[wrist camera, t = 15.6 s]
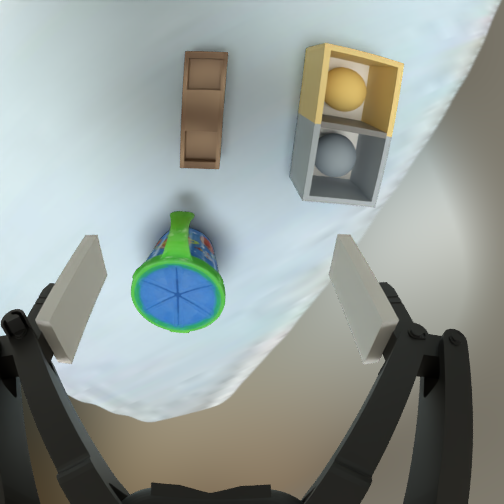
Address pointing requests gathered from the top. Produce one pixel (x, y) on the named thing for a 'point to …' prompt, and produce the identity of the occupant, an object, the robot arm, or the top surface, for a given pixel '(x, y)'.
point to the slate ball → (335, 155)
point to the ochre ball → (344, 89)
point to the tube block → (345, 125)
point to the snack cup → (180, 280)
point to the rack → (202, 109)
